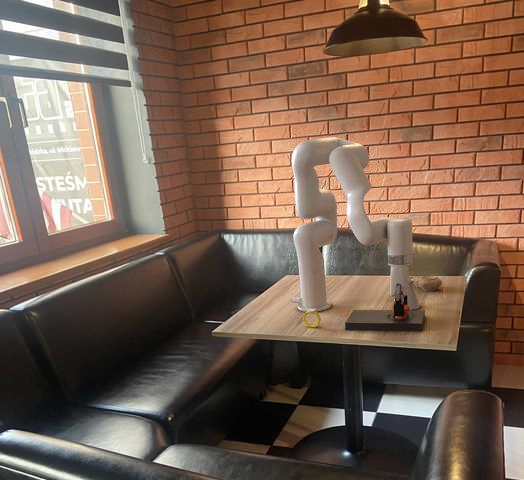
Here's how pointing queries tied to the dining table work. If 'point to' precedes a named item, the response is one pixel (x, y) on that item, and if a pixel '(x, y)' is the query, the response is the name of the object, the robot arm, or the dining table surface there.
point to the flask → (412, 296)
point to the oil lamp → (427, 282)
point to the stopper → (406, 309)
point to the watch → (315, 314)
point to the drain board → (385, 320)
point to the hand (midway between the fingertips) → (400, 311)
